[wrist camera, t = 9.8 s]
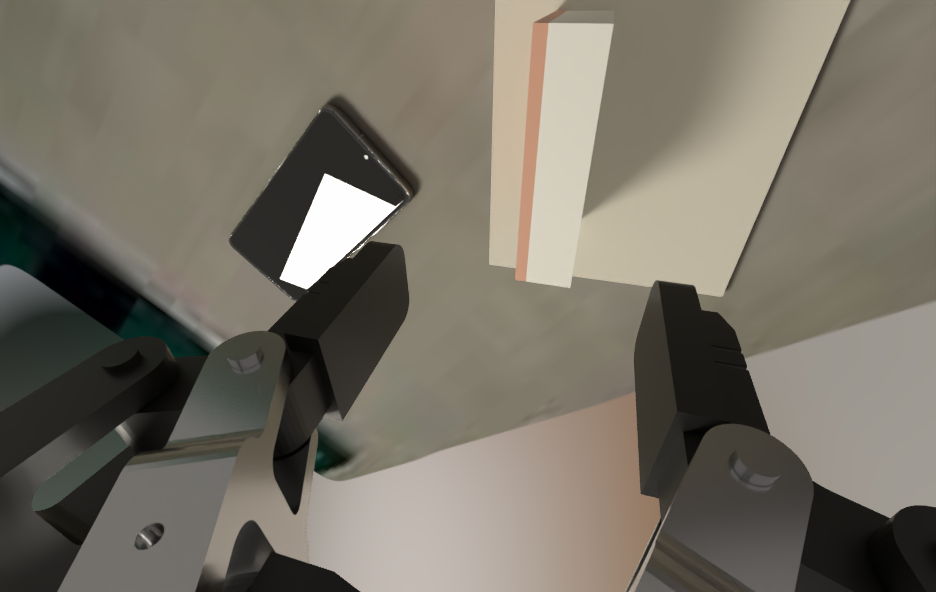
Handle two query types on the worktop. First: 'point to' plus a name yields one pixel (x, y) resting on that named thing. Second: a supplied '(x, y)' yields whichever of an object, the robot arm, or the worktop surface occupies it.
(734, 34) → the mat
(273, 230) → the smartphone
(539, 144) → the block
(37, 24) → the worktop surface
